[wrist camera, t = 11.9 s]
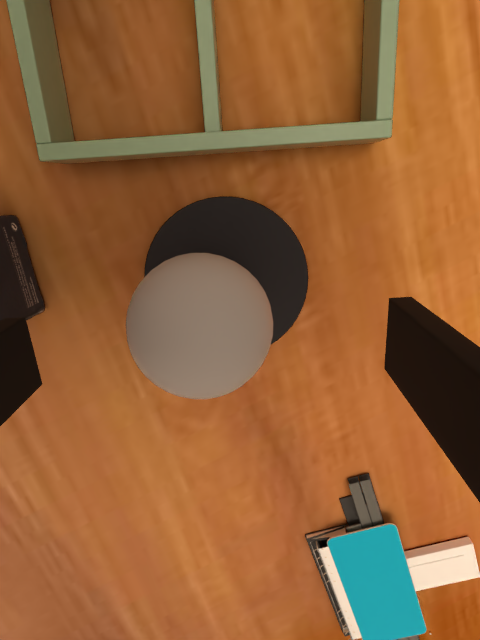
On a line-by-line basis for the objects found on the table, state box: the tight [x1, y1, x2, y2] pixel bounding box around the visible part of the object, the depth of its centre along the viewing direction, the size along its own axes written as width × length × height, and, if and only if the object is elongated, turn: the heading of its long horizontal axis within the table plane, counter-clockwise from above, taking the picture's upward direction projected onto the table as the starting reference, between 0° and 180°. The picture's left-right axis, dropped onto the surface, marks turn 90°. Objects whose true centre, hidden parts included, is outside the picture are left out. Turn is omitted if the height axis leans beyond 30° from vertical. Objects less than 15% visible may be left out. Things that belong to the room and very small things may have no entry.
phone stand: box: [305, 473, 480, 640], centre depth 31 cm, size 20×12×2 cm, turn 19°
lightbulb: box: [126, 253, 273, 399], centre depth 19 cm, size 6×6×11 cm
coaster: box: [145, 197, 308, 344], centre depth 25 cm, size 10×10×1 cm
